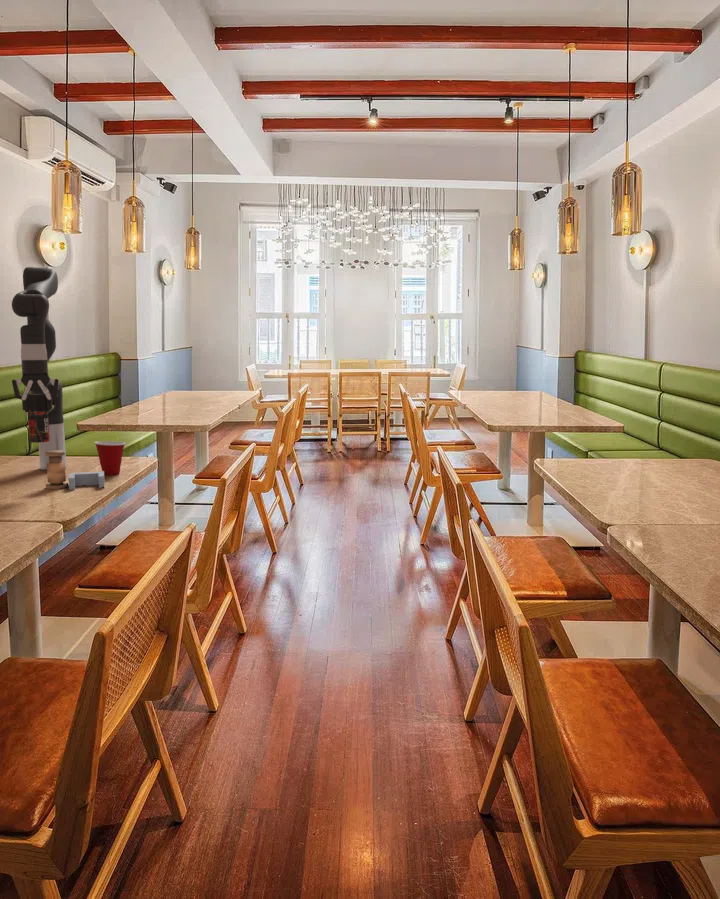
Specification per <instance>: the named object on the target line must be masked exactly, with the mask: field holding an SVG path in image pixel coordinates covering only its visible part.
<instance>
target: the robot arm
mask: <svg viewBox="0 0 720 899" xmlns="http://www.w3.org/2000/svg"><path fill="white" fill-rule="evenodd" d="M22 287H23V290H22V291H20V292H18V293H16V294H15V295H14V296H13V298H12V300H11V309H12V311H13V313H14V314H15V315H16V316H18V317H19V318H20V317H21V318H26V321H27V322H26V324H24V325H22V326H21V327H20V329H19V330H20V331H19V332H20V345H21V346H20V360H21V374H22V376H21V378H18V379H12V380H11V383H12V388H13V393H14V397H15V399H19V400H21V403H22V404H21V406H22V407H21V408H22V410H23V411H24V412H25V413H28V409H27V395H28V394H45V395H46V397H47V411H48V422H49V437H50V441H48V442H39V443H38V458H39V468H40V470H41V471H47V462H49V456H45V452H47V451H56V450H61V451H65V455H62V461H64V462H65V467H66V468H67V455H66V454H67V453H66V442H65V440H66V439H65V423H64V412H63V411H64V408H63V403H64V402H63V401H64V399H63V384H62V382H61V381H60V379H59V378H50V376H49V367H48V366H49V365H48V363H49V360H50V359H51V358H52V357H53V355H54V353H55V351H56V348H57V342H56V340H57V339H56V338H57V337H56V329H55V327H54V325H53V324H52V323H51V321H50V320H49V318H48V313H49V311H50V310H49V308H50V302H49V300H48V299H49V298H51V297H52V296H54V295H55V294H57V292H58V287H59V277H58V273H57V272H56V270H55V269H53V268H48V267H37V266H35V267H33V266H32V267H31V266H28V267H27V266H26V267H25V268H24V269H23V272H22ZM21 383H22V384H23V385H24V387H25V390H24V392H23V394H21V393H20V385H21Z"/></svg>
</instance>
